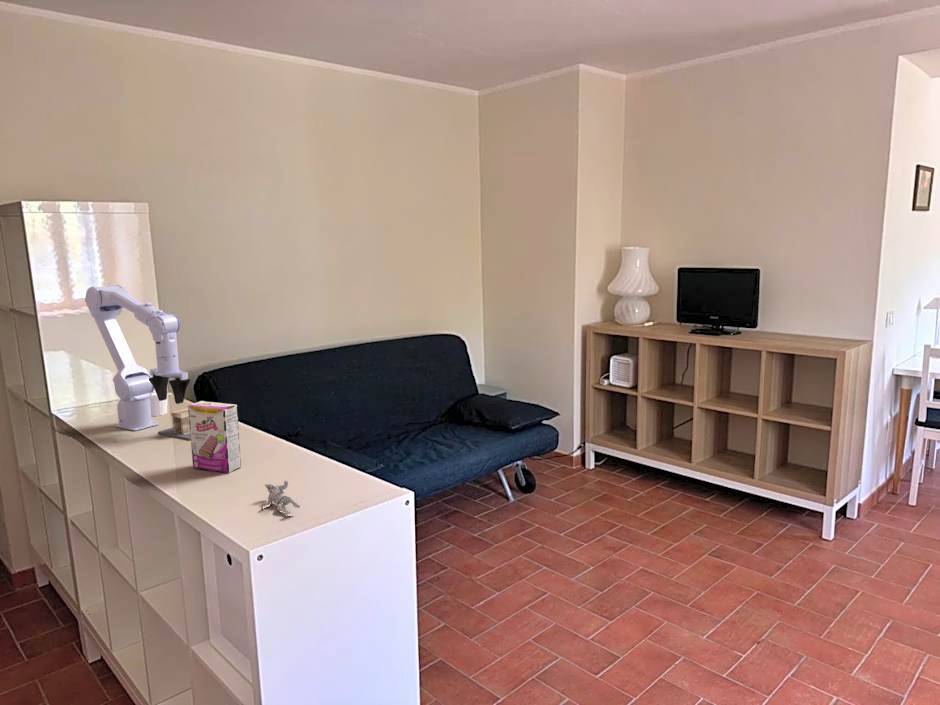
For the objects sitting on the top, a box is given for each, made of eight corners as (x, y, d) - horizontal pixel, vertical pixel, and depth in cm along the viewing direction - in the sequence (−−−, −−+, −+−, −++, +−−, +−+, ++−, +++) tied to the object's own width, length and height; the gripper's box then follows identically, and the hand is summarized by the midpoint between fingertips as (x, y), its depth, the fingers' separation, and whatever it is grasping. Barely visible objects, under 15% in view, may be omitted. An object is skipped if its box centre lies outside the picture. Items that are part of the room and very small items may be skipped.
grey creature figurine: (273, 526, 130) (245, 493, 137) (287, 534, 134) (259, 501, 141) (300, 496, 132) (271, 465, 139) (313, 504, 136) (284, 474, 143)
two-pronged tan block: (172, 432, 189) (171, 412, 188) (191, 426, 195) (190, 407, 194) (182, 434, 187) (181, 414, 186) (201, 428, 193) (200, 409, 192)
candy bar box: (191, 469, 160) (186, 405, 157) (206, 462, 165) (201, 400, 162) (228, 474, 157) (224, 408, 154) (242, 467, 161) (238, 403, 159)
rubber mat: (158, 433, 190) (157, 431, 190) (187, 425, 199) (187, 423, 199) (189, 440, 184) (189, 438, 184) (218, 431, 192) (218, 429, 192)
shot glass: (173, 411, 215) (171, 391, 214) (161, 417, 208) (160, 396, 207) (154, 411, 216) (152, 390, 215) (141, 416, 209) (139, 395, 208)
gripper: (138, 356, 188) (143, 401, 190) (171, 360, 181) (175, 407, 183) (160, 352, 194) (164, 396, 196) (192, 356, 187) (196, 402, 189)
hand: (171, 401), depth 190 cm, fingers open, 7 cm apart
